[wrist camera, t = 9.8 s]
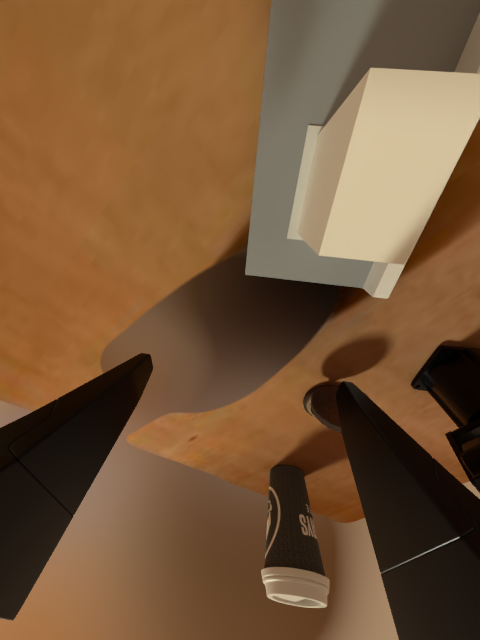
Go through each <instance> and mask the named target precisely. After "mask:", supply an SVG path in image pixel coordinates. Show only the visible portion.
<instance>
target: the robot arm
mask: <svg viewBox="0 0 480 640" xmlns="http://www.w3.org/2000/svg"><path fill="white" fill-rule="evenodd" d="M152 370H153V364H152V359H151V356H150V354H145V353H141V354H139V355H137V356H135V357H133V358H131V359H129V360H128V361H126V362H124V363H122V364H120V365H118V366H117V367H115V368H113V369H111V370H109V371H107V372H106V373H104V374H102V375H100V376H98V377H96V378H95V379H93V380H91V381H89V382H87V383H85V384H84V385H82V386H80V387H78V388H76V389H74V390H72V391H71V392H69V393H67V394H65V395H63V396H61V397H60V398H58V400H57V399H56V400H54V401H52V402H50V403H49V404H47V405H45V406H43V407H41V408H39V409H37V410H35V411H33V412H32V413H30V414H28V415H26V416H24V417H22V418H20V419H18V420H16V421H14V422H12V423H10V424H8V425H6V426H4V427H1V428H0V619H6V620H14V618H15V617H16V615H17V614H18V612H19V610H20V609H21V607H22V605H23V604H24V602H25V600H26V598H27V597H28V595H29V593H30V591H31V590H32V588H33V586H34V584H35V583H36V581H37V579H38V577H39V576H40V574H41V572H42V570H43V568H44V567H45V565H46V563H47V562H48V560H49V558H50V556H51V555H52V553H53V551H54V549H55V548H56V546H57V544H58V542H59V541H60V539H61V537H62V535H63V534H64V532H65V530H66V528H67V527H68V525H69V523H70V521H71V520H72V518H73V515H74V514H75V512H76V511H77V509H78V507H79V505H80V504H81V502H82V500H83V498H84V497H85V495H86V493H87V491H88V490H89V488H90V486H91V484H92V483H93V481H94V479H95V477H96V475H97V474H98V472H99V470H100V469H101V467H102V465H103V463H104V461H105V460H106V458H107V456H108V455H109V453H110V451H111V449H112V447H113V446H114V444H115V442H116V441H117V439H118V437H119V435H120V433H121V432H122V430H123V428H124V427H125V425H126V423H127V421H128V420H129V418H130V416H131V414H132V413H133V411H134V409H135V407H136V405H137V404H138V402H139V400H140V398H141V396H142V394H143V391H144V389H145V387H146V384H147V382H148V380H149V377H150V375H151V373H152ZM411 386H412V387H413V388H414V389H417V390H424V391H428V392H429V393H430V395H431V396H432V397H433V398H434V399H435V400H436V402H437V403H438V404H439V405H440V406H441V407H442V409H443V410H444V411H445V412H446V413H447V414H448V416H449V417H450V418H451V419H452V420H453V422H454V423H455V424H456V425H457V426H458V427H459V428H458V429H456V430H454V431H452V432H451V431H450V432H448V433H446V434H445V435H446V437H447V439H448V441H449V443H450V445H451V447H452V449H453V451H454V452H455V454H456V456H457V458H458V460H459V462H460V463H461V465H462V467H463V469H464V471H465V473H466V474H467V476H468V478H469V480H470V482H471V483H472V484H473V485H474V486H475V487H476V489H477V490H478V491H479V492H480V349H474V348H459V347H451V346H441V347H439V348H438V349H437V350H436V351H435V353H434V354H433V355H432V357H431V358H430V359H429V361H428V362H427V363H426V365H425V366H424V367H423V369H422V370H421V371H420V373H419V374H418V375H417V377H416V378H415V379H414V381H413V382H412V383H411ZM336 403H337V409H338V415H339V421H340V427H341V432H342V436H343V440H344V443H345V447H346V451H347V454H348V458H349V461H350V465H351V468H352V472H353V476H354V479H355V483H356V486H357V490H358V494H359V497H360V501H361V504H362V508H363V511H364V515H365V519H366V522H367V526H368V529H369V533H370V537H371V540H372V544H373V547H374V551H375V554H376V558H377V561H378V565H379V569H380V572H381V573H382V574H381V576H382V580H383V583H384V587H385V591H386V594H387V598H388V602H389V605H390V609H391V612H392V616H393V619H394V623H395V627H396V630H397V634H398V637H399V640H480V499H479V498H478V497H477V496H475V495H474V494H473V493H472V492H471V491H470V490H468V489H467V488H466V487H465V486H464V485H463V484H462V483H460V482H459V481H458V480H457V479H456V478H455V477H454V476H453V475H452V474H451V473H449V472H448V471H447V470H446V469H445V468H444V467H443V466H442V465H441V464H440V463H439V462H437V461H436V460H435V459H434V458H432V456H431V455H430V454H429V453H428V452H427V451H425V450H424V449H423V448H422V447H421V446H420V445H419V444H418V443H417V442H416V441H415V440H414V439H413V438H411V437H410V436H409V435H408V434H407V433H406V432H405V431H404V430H403V429H402V428H401V427H400V426H399V425H397V424H396V423H395V422H394V421H393V420H392V419H391V418H390V417H389V416H388V415H387V414H386V413H385V412H383V411H382V410H381V409H380V408H379V407H378V406H377V405H376V404H375V403H374V402H373V401H372V400H371V399H369V398H368V397H367V396H366V395H365V394H364V393H363V392H362V391H361V390H360V389H359V388H358V387H357V386H355V385H354V384H353V383H351V382H345V381H343V382H341V384H340V386H339V388H338V390H337V392H336Z"/></svg>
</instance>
